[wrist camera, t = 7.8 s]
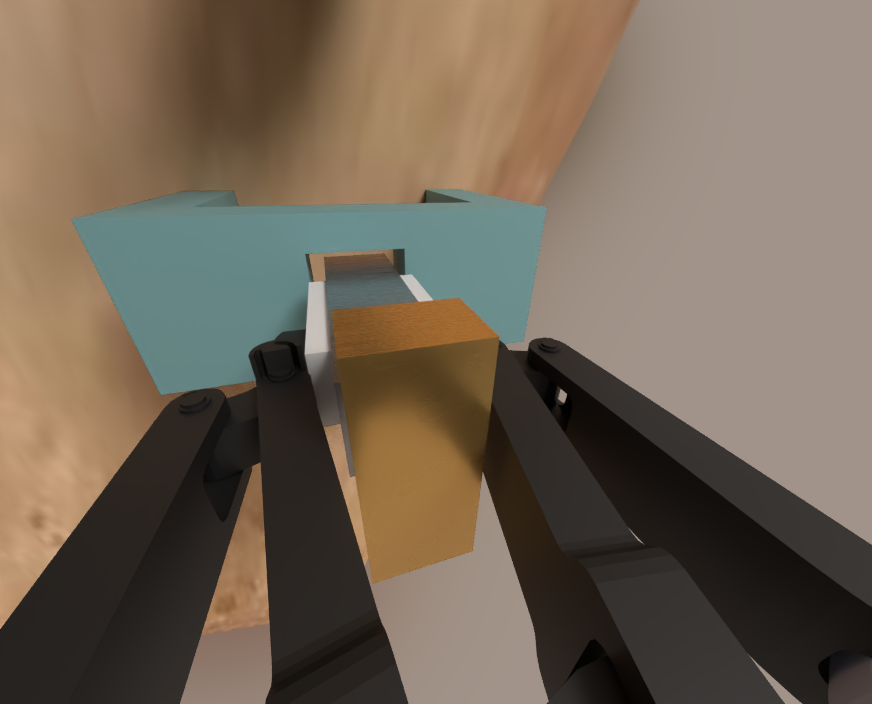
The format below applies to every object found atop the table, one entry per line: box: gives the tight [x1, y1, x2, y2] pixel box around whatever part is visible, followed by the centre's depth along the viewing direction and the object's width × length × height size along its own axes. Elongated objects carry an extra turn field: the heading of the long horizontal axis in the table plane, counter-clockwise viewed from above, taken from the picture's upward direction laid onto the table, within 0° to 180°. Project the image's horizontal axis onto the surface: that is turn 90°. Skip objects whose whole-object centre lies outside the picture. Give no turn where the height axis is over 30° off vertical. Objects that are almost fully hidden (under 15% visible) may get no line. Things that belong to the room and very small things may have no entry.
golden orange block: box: [324, 254, 500, 583], centre depth 13 cm, size 3×7×14 cm, turn 0°
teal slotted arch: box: [71, 189, 546, 395], centre depth 22 cm, size 20×8×12 cm, turn 90°
